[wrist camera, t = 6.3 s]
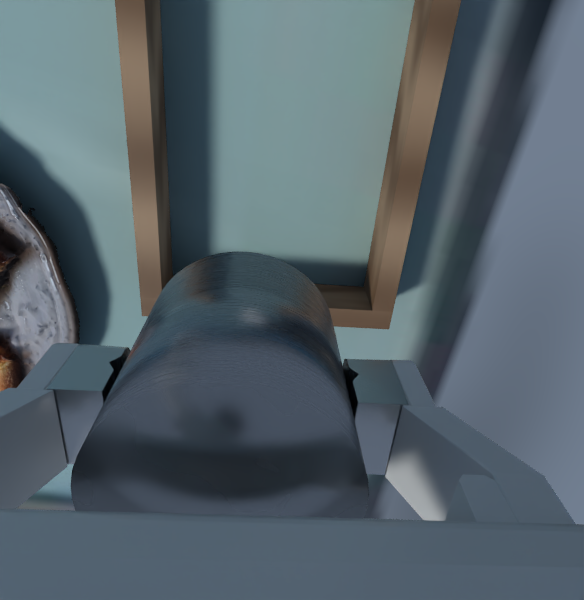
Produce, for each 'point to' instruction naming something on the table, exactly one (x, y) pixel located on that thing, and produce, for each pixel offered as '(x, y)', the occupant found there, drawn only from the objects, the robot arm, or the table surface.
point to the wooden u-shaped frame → (396, 181)
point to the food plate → (29, 293)
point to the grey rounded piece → (228, 403)
